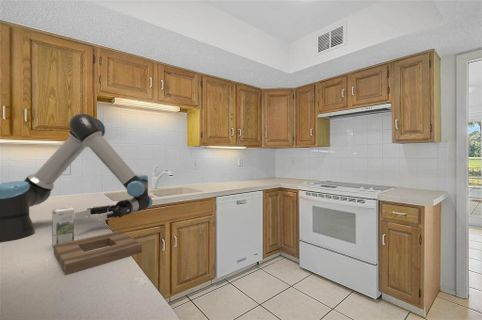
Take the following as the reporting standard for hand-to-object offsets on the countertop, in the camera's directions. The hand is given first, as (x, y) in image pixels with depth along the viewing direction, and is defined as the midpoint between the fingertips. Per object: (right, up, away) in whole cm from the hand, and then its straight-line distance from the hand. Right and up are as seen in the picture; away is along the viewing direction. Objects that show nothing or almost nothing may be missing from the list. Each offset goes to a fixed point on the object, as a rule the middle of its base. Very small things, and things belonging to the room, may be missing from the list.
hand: (87, 216), depth 98 cm
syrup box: (-3, -9, -9) cm, 13 cm away
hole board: (+14, -9, -15) cm, 23 cm away
